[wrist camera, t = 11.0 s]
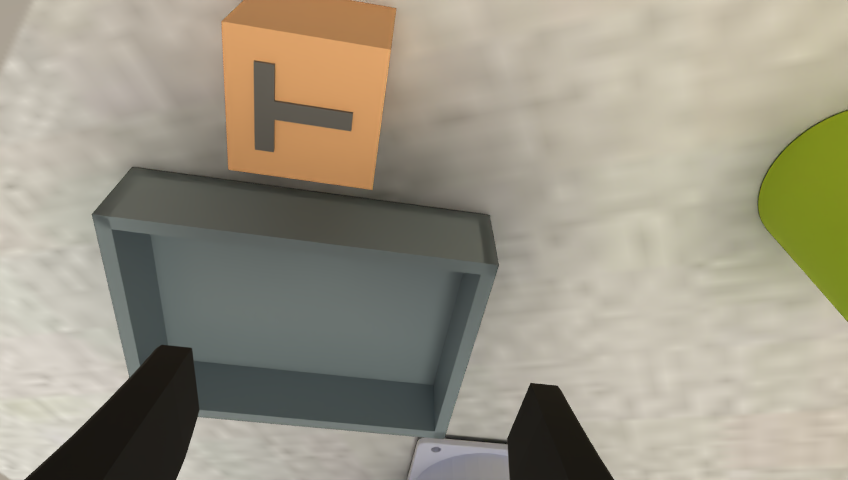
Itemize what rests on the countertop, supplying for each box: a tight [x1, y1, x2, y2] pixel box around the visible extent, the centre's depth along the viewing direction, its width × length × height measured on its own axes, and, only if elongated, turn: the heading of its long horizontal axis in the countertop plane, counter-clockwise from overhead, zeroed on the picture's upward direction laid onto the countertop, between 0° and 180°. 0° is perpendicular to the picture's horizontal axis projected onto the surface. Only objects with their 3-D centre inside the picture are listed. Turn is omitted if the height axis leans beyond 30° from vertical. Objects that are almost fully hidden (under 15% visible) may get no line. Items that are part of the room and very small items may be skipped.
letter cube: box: [221, 0, 396, 190], centre depth 16 cm, size 4×4×4 cm
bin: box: [92, 167, 499, 439], centre depth 22 cm, size 13×10×3 cm
